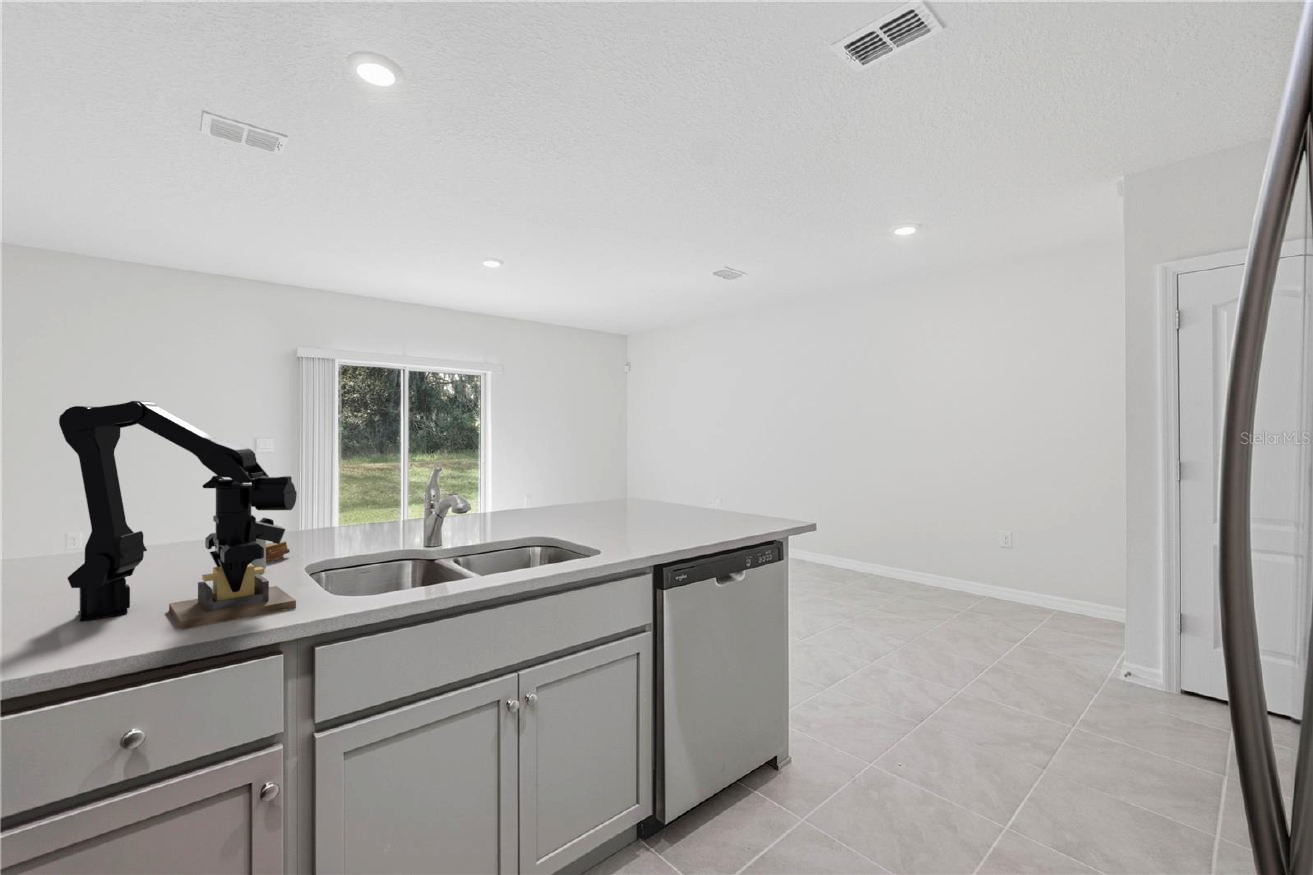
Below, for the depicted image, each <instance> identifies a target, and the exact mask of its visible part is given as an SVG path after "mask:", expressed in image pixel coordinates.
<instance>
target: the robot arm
mask: <svg viewBox="0 0 1313 875" xmlns="http://www.w3.org/2000/svg"><path fill="white" fill-rule="evenodd" d="M58 425H59V428H60V430H61V433H62V435H63V438H64V440H65V442H66V443H67V445H69V446H70V448H72V450H73V451H74V452H75V453H76V455H77V456H78V459H79V465H80V472H81V476H82V482H83V488H84V493H85V498H86V505H87V511H88V517H89V521H90V527H91V532H90V534H89V537H88V539H87V542H86V544H85V546H84V563H83V564H82V565H81V566H79V567H77V568H76V569H75V570H74V571H73V572H72V573H71V574H69V575H68V576H67V580H68V583H69V585H70V588H72V589H79V610H78V612H77V613H78V619H79V622H81V621H82V622H83V621H89V620H96V619H102V618H107V617H114V616H120V615H126V614H128V613H129V612H128V610H129V609H130V608H131V587H130V585H129V584H127V580H126V578H127V577H131V576H133V573H134V571H135V570H136V567H138V565H139V564H140V563H141V562H142V561H143V560H144V552H147V551H148V549H147V547H146V545H145V543H144V532H143V530H142V531H141V530H140V531H135V532H134V531H133V530H132V529H131V527H129V525H128V523H127V521H126V520H127V519H126V513H125V508H124V502H123V497H122V491H121V486H120V481H119V475H118V467H117V463H116V456H115V450H116V447H117V445H118V442H119V440H120V438H121V429H122V428H128V427H133V426H135V425H139V426H141V427H143V428H145V429H147V430H149V431H150V432H151V433H152V432H153V433H154V434H156V435H158V436H160V437H162V438H163V439H165V440H167V441H169V442H172V443H173V444H175V445H177V446H178V447H180V448H181V449H184V450H186V451H188V452H189V453H192V454H193V455H194V456H195V457H197V459H198V460H199V462H200V463H201V464H202V465H203V466H204V467H205V468H207V469H208V470H209V471H211V472H212V473H213V474H215V475H213V476H211V478H210V479H209V480H208V481H206V482H205V483H203V484H202V488H203V489H215V515H213V519H212V520H213V522H215V532H211V533H209V534H208V536H206V537H205V541H204V542H205V543H204V546H205V548H206V550H212V548H213V547H214V550H213V551H209V555H210V556H211V558H212V560H213V562H214V563H215V567H220V566H221V568H222V570H223V572H224V575H225V577H226V579H227V581H228V583H229V586H230V588H231V590H232V592H238V591H240V588H241V584H242V581H243V578H244V575H245V572H246V569H247V566H248V565H249V564H250V563H251V562H252V561H253V560H256V559H262V558H264V548H263V547H262V546H260V545H259V544H257V543H256V538H257V539H261V540H266V541H267V542H270V543H276V544H280V542H282V539H283V537H284V534H285V532H286V528H284V527H282V526H279V525H275V524H274V519H272V518H268V517H262V518H261V519H260V520H259V521H257V518H256V516H254V514H252V508H255V509H256V510H257V511H292V510H293V508H294V507H295V506H296V502H297V490H296V487H295V484H294V483H293V482H292V476H291V475H284V476H269V474H267V472H266V471H265V470H264V468H262V466H261V465H260V463H258V461H257V457H256V453H255V452H254V450H252V449H251V448H249V447H247V446H244V445H240V444H238V443H235V442H233V441H229V440H225V439H221V438H217V437H214V436H212V435H210V434H209V433H206V432H205V431H203V430H201V429H199V428H198V427H195V426H193V425H192V424H190V423H189V422H186V421H184V420H183V419H180V418H178V417H177V416H175V415H173V414H171V413H169V412H168V411H166V410H164V409H163V408H160V407H159V406H158V405H157V404H155V403H154V402H152V401H144V400H142V401H141V400H131V401H128V402H125V403H117V404H111V405H102V406H90V405H89V406H86V405H85V406H84V405H81V406H80V405H75V406H70V407H69V408H67V409H65V410H64V412H62V414H60V416H59V417H58ZM225 478H227V479H225ZM249 483H250V484H249Z"/></svg>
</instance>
